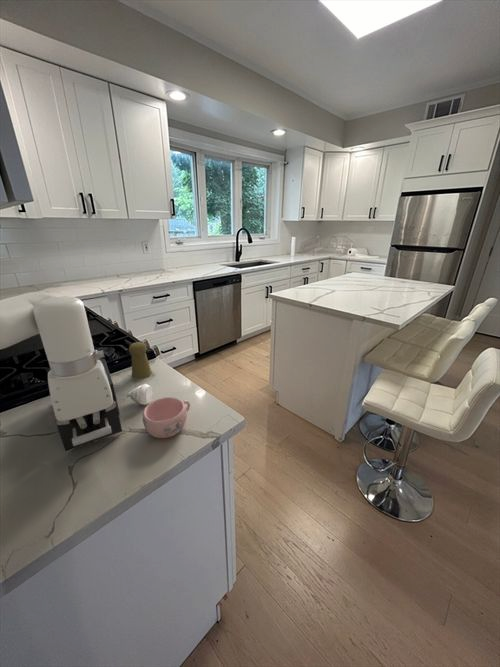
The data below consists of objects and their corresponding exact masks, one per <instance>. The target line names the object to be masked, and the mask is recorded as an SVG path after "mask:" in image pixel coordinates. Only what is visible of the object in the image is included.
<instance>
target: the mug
mask: <svg viewBox="0 0 500 667" xmlns="http://www.w3.org/2000/svg"><path fill="white" fill-rule="evenodd" d="M190 408H191V404H190V401H189V400H187V399H185V400H183V401H182V400H181V399H179V398H176V397H171V396H170V397H168V396H166V397H161V398H160V397H159V398H157V399H154V400H153V401H150V403H148V404H146V406H145V407H144V409H143V411H142V423H143V427H144V428H145V430H146V431H147V432H148V434H149V435H151V436H152V437H154V438H157V439H168V438H171V437H173V436H176V435H177V434H178V433H180V432H181V430H182V429H183V428H184V425H185V423H186V421H187V417H188V416H187V415H188V411H189V410H190Z"/></svg>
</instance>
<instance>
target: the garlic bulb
mask: <svg viewBox="0 0 500 667" xmlns="http://www.w3.org/2000/svg"><path fill="white" fill-rule="evenodd" d="M126 397H127V398H130V399H131V400H132V401H133V402H135V403H137V404H140V405H143V406H145V405H146V406H147V405H149V404H150V403H151V402H152V400H153V387H152V386H151V385H149V384H147V383H143V384H141V385H138V386H137V387H135V388H134V389H132V390H130V391H129V392H128V393H127V395H126Z"/></svg>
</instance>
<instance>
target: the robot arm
mask: <svg viewBox="0 0 500 667" xmlns="http://www.w3.org/2000/svg"><path fill="white" fill-rule="evenodd" d="M37 335H39V336H40V339H41V342H42V346H43V348H44V352H45V355H46V358H47V362H48V366H49V371H48V372H47V384H48V389H49V391H48V392H49V395H50V396H49V397H50V401H51V405H52V409H53V412H54V416H55V418H56V419H57V425H65V424H69V423H70V424H73V425H76V426H80V428H81V429H83V432H84V434H87V433H90V432H92V431H95V430H98V429H100V426H99V422H100V419H101V418H102V417H103V415H104V414H105V413H106V412H108V411H110V410H112V409H114V408H115V407H116V404H115V402H114V400H113V397H112V392H111V388H110V384H109V381H108V378H107V374H106V371H105V369H104V366H103V364H102V362H101V361H100V360H99V359H102V358H105V353H104V350H103V349H102V350H97V349H95V348H94V347H95V346H94V343H93V338H92V334H91V330H90V325H89V321H88V317H87V311H86V307H85V305H84V302H83V301H82V299H80V298H78V297H75V296H68V295H67V296H66V295H64V296H55V295H51V294H48V293H44V292H40V291H39V292H38V291H32V292H25V293H22V294H19V295H15V296H10V297H7V298H6V297H5V298H2V299H0V350H3V349H7V348H10V347H12V346H14V345H16V344H18V343H20V342H22V341H25V340H27V339H30V338H32V337H34V336H37ZM91 413H92V417H91V419H90V421H89V420H88V419H87V418H86V417H85V415H88V414H91ZM90 422H91V425H90ZM57 425H56V426H57ZM91 427H92V428H91ZM95 440H96V441H99V440H100V439H99V438H96V439H95ZM93 441H94V439H93V440H91V441H90V443H89V444H92V443H94V442H96V441H94V442H93Z"/></svg>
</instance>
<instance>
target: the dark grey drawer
mask: <svg viewBox="0 0 500 667" xmlns="http://www.w3.org/2000/svg"><path fill="white" fill-rule="evenodd" d="M115 404H116V401H115ZM117 404H118V403H117ZM117 404H116V407H115V408H114V409H112V410H110V411H108V412H106V413H105V414H104V415H103V417H102V418H101V419H100V422H99V426H100V429H98V430H95V431H92V432H90V433H87V434H84V432H83V429H81V428H80V426H76V425H73V424H70V423H69V424H65V425H57V418H56V419H55V425H56V427H57V431H58V434H59V438H60V440H61V443H62V446H63V449H64V451H65V452H68V451H71V450H74V449H76V448H79V447H82V446H85V445H88V444H91V443H90V441H91V440H93V439H94V441H93V442H92V443H94V442H96V440H95V439H96V438H99V440H102V439H105V438H108V437H110V436H113V435H116V434H119V433H122V432H123V428H122V424H121V419H120V415H119V414H120V412H119V413H118V409H119V408H118V409H117ZM85 417H86V418H87V419H88V420H89V421H90V419H91V417H92V413H91V414H88V415H85ZM90 425H91V422H90ZM91 428H92V427H91Z"/></svg>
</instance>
